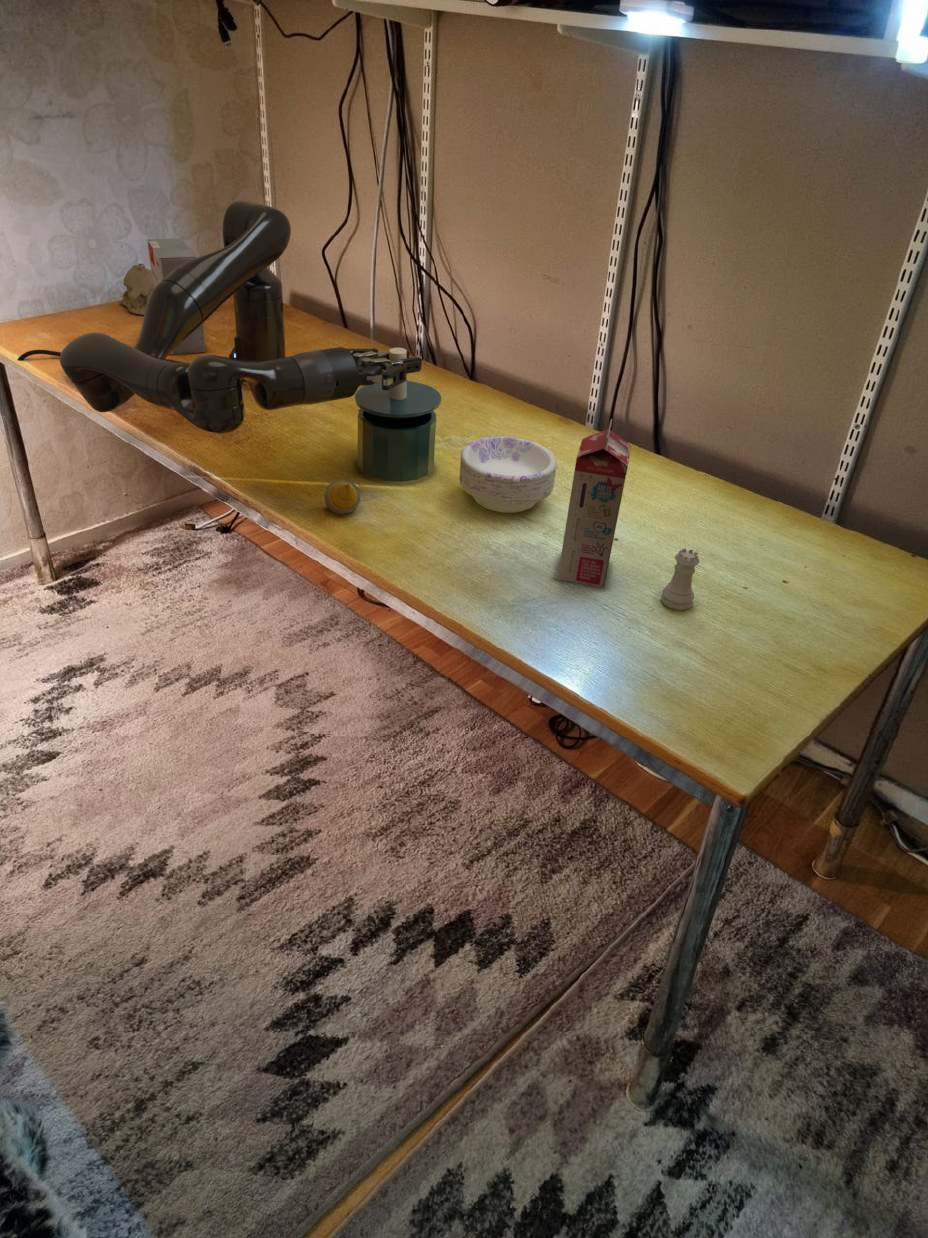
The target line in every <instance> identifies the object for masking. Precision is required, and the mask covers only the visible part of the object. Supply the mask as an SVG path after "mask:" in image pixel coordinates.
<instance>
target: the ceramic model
mask: <svg viewBox="0 0 928 1238" xmlns="http://www.w3.org/2000/svg"><path fill="white" fill-rule="evenodd" d="M123 286H124V287H125V288H126V290H124V291H123V293H122V296H121V297H122V303H121V304H122V306H125V307H126V308H127V309H128V311H129V312H130V313H132V314H136V315H143V316H144V314H145V310H146V306H147V302H148V299H149V296H150V294H151V292H152V290H153V289H154V288H153V280H152V273H151V269H149V268H146V265H145V264H144V263H138V264H134V265H132V267H131V268H130V269H128V270H127V272H126V274H125V275H124V278H123Z"/></svg>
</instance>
